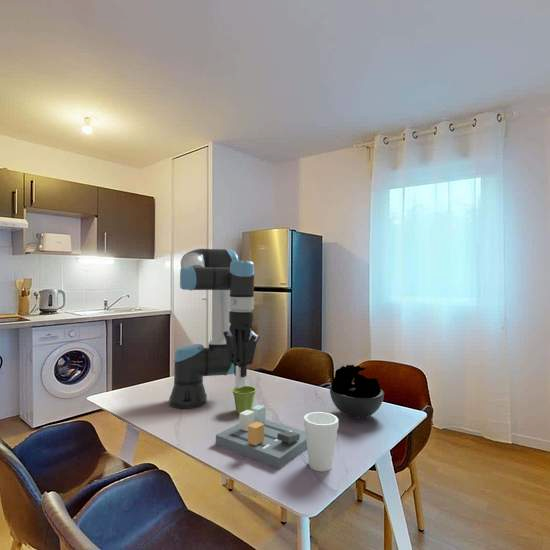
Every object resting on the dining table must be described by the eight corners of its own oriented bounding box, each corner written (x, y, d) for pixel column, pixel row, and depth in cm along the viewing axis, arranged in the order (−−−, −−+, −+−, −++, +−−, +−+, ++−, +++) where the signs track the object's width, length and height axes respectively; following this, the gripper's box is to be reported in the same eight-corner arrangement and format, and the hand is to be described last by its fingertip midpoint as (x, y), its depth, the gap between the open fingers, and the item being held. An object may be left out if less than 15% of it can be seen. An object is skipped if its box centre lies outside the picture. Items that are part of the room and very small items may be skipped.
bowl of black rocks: (348, 403, 149) (349, 358, 150) (393, 417, 135) (393, 367, 136) (318, 416, 135) (319, 366, 136) (365, 432, 121) (366, 376, 121)
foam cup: (301, 457, 103) (301, 412, 104) (332, 456, 104) (333, 411, 104) (307, 475, 94) (307, 425, 94) (341, 474, 95) (342, 424, 95)
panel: (215, 444, 111) (215, 432, 111) (253, 424, 126) (254, 414, 126) (279, 469, 97) (279, 455, 97) (313, 443, 112) (313, 431, 112)
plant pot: (236, 417, 132) (237, 394, 132) (228, 409, 141) (228, 387, 141) (259, 413, 137) (260, 391, 137) (250, 406, 145) (250, 384, 145)
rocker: (277, 439, 105) (277, 433, 105) (287, 436, 109) (288, 430, 110) (288, 442, 102) (289, 437, 103) (299, 440, 107) (299, 434, 107)
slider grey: (251, 422, 119) (251, 407, 119) (258, 419, 123) (258, 404, 123) (258, 425, 118) (258, 409, 118) (265, 421, 121) (265, 406, 121)
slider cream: (239, 428, 114) (239, 413, 114) (247, 424, 118) (247, 409, 118) (246, 431, 113) (246, 415, 113) (254, 427, 116) (254, 411, 116)
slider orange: (247, 442, 105) (248, 425, 105) (256, 438, 108) (256, 421, 108) (255, 445, 103) (256, 428, 103) (264, 440, 106) (264, 423, 106)
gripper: (217, 309, 111) (216, 385, 111) (250, 312, 104) (248, 394, 104) (233, 308, 117) (232, 380, 117) (265, 311, 110) (264, 387, 110)
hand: (240, 386), depth 110 cm, fingers closed
